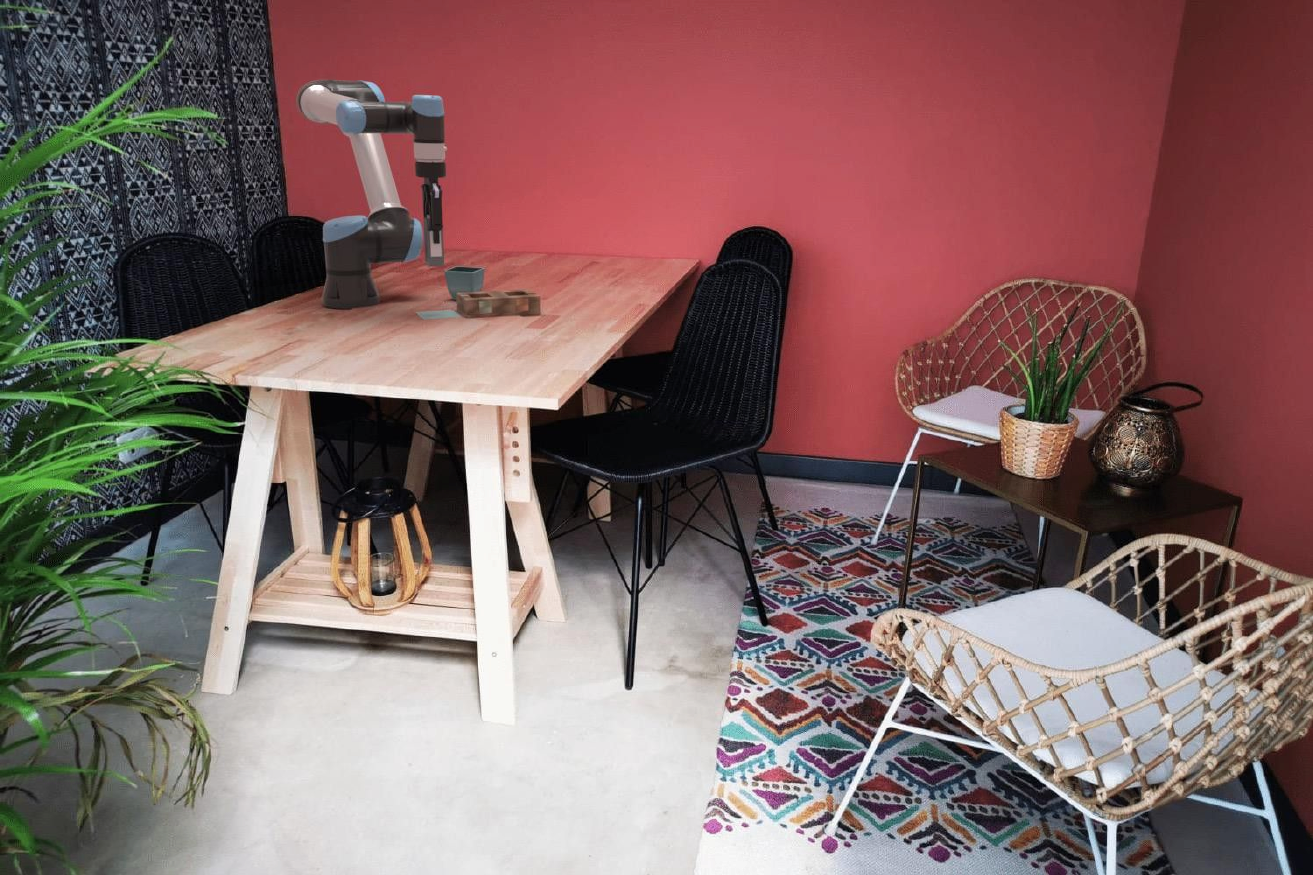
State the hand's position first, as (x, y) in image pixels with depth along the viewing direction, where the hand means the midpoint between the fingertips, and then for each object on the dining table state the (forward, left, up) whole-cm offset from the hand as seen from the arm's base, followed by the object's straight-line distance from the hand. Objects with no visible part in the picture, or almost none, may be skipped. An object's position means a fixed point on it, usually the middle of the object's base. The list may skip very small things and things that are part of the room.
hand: (434, 254), depth 242 cm
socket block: (+16, -1, -16) cm, 23 cm away
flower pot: (+12, +19, -16) cm, 27 cm away
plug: (0, 0, -3) cm, 3 cm away
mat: (0, 0, -16) cm, 16 cm away
